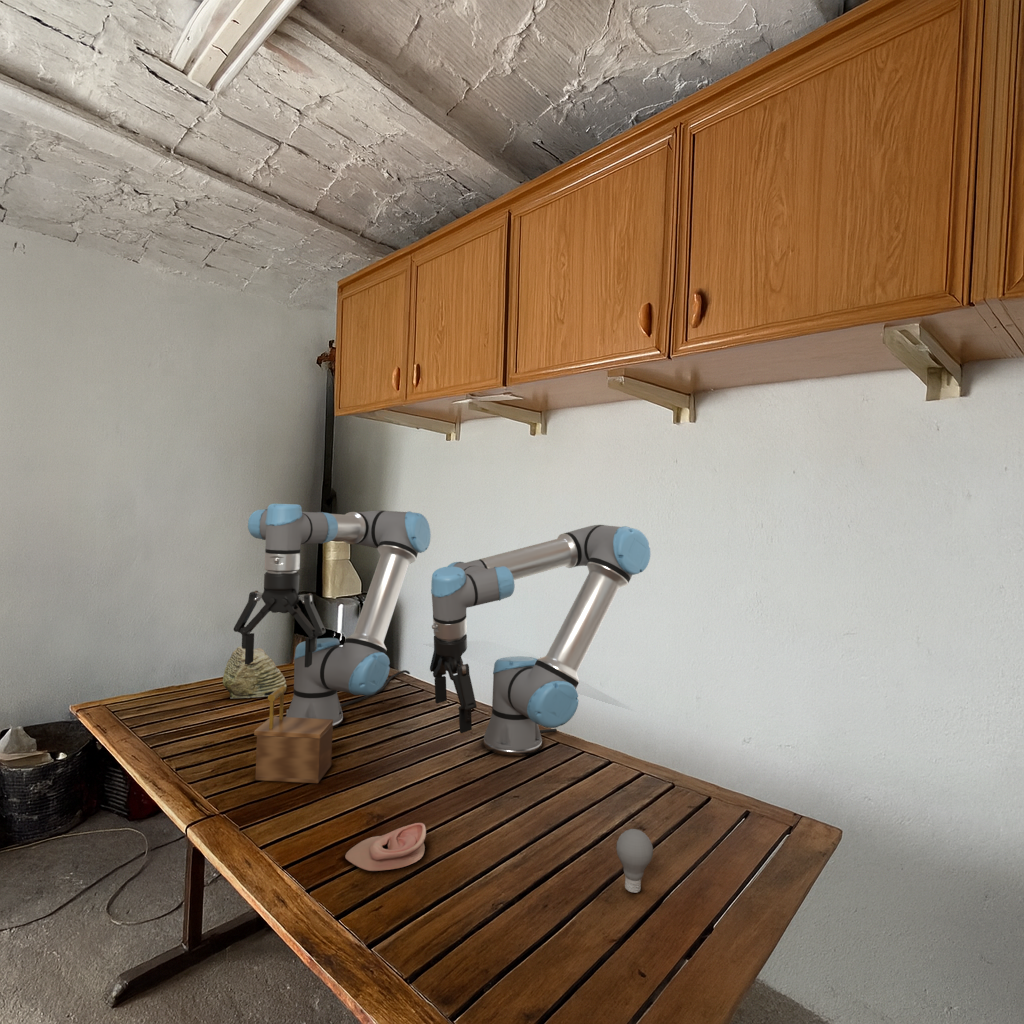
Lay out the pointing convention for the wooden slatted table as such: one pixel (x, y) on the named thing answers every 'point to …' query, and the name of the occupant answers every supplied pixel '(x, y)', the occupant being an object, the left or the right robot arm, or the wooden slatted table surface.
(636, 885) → the light bulb
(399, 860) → the anatomical model
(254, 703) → the wooden slatted table surface
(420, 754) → the wooden slatted table surface
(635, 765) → the wooden slatted table surface
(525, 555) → the right robot arm
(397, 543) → the left robot arm
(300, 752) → the chest
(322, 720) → the panel with bar handle
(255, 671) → the fossil
